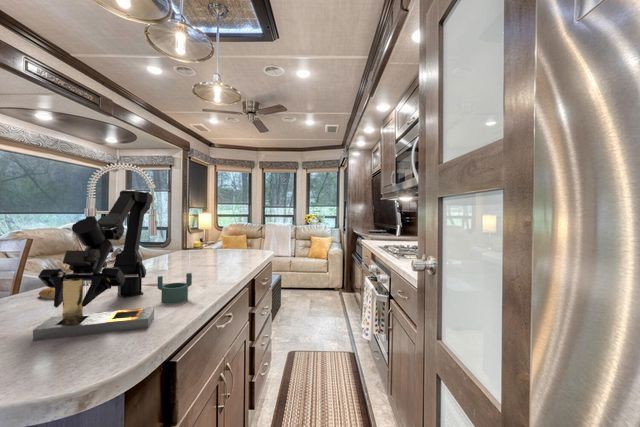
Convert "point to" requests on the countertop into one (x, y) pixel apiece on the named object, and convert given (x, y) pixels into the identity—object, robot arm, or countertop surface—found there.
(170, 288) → the bracket
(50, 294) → the pastry
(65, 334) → the hole rail
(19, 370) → the countertop surface
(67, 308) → the brass peg
